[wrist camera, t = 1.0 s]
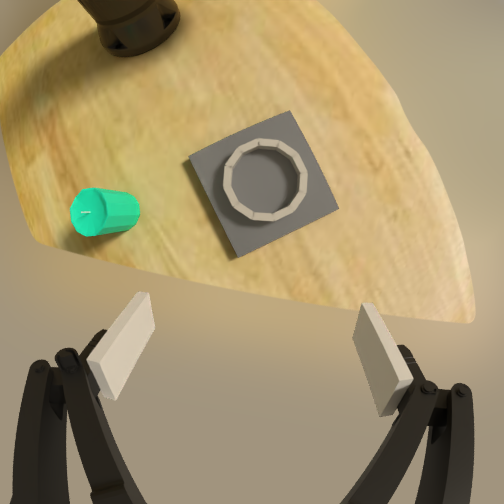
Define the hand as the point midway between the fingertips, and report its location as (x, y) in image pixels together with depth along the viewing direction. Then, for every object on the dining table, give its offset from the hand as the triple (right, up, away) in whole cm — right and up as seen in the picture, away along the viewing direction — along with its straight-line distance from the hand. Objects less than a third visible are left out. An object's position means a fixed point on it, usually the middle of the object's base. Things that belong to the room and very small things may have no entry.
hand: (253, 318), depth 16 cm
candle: (-20, +10, +23) cm, 32 cm away
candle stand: (+2, +14, +23) cm, 27 cm away
